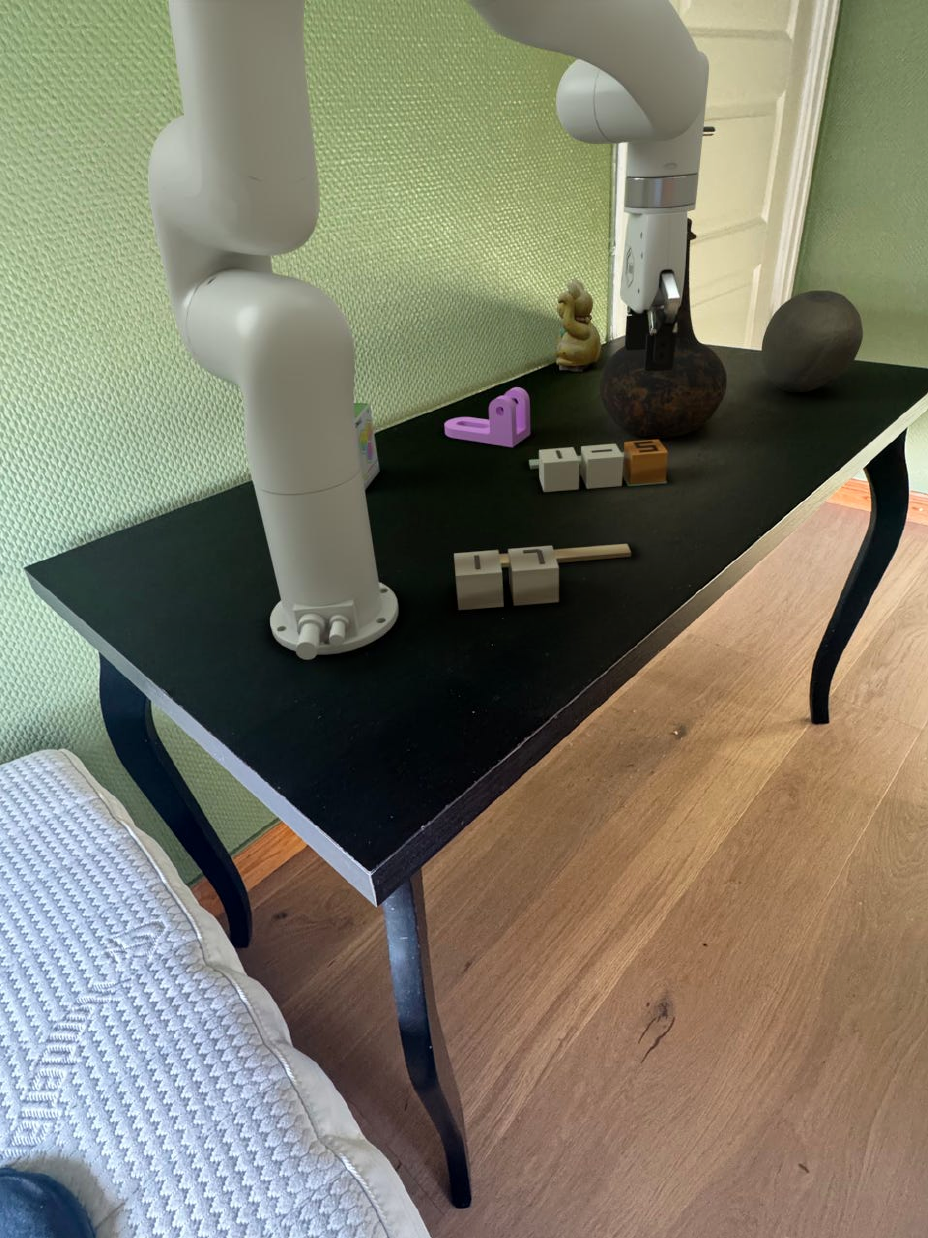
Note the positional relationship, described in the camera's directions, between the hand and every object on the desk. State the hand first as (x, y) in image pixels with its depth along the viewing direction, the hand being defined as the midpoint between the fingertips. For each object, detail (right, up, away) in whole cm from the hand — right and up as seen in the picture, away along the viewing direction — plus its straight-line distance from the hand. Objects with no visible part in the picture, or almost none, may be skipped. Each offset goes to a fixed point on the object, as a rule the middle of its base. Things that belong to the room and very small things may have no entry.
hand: (647, 358), depth 91 cm
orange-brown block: (+2, -12, +9) cm, 15 cm away
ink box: (-36, -12, +14) cm, 41 cm away
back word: (-4, -11, +11) cm, 16 cm away
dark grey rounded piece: (+33, +6, +32) cm, 46 cm away
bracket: (-19, -3, +25) cm, 32 cm away
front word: (-13, -27, -11) cm, 32 cm away
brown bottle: (+7, -3, +23) cm, 24 cm away
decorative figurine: (0, +16, +52) cm, 55 cm away
